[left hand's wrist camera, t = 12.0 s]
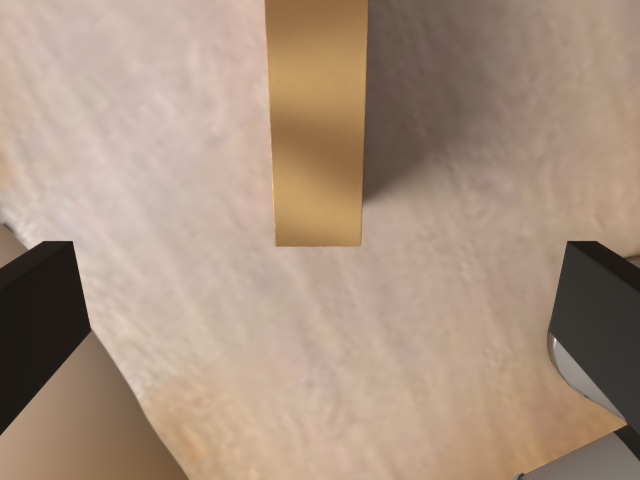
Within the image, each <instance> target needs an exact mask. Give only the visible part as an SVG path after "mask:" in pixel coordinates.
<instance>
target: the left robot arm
mask: <svg viewBox="0 0 640 480" xmlns="http://www.w3.org/2000/svg"><path fill="white" fill-rule="evenodd" d="M90 332H91V327H90V323H89V318H88V313H87V308H86V303H85V299H84V294H83V289H82V284H81V279H80V274H79V270H78V265H77V260H76V255H75V250H74V246H73V241H43V242H41V243H40V244H38V245H37V246H35V247H34V248H32V249H30V250H29V251H27V252H26V253H24V254H22V255H21V256H19V257H18V258H16V259H14V260H13V261H11V262H10V263H8V264H6V265H5V266H3V267H2V268H0V435H1V434H2V433H3V432H4V431H5V430H6V428H7V427H8V426H9V425H10V424H11V423H12V422H13V420H14V419H15V418H16V417H17V416H18V415H19V413H20V412H21V411H22V410H23V409H24V408H25V407H26V405H27V404H28V403H29V402H30V401H31V400H32V398H33V397H34V396H35V395H36V394H37V393H38V392H39V390H40V389H41V388H42V387H43V386H44V385H45V384H46V382H47V381H48V380H49V379H50V378H51V377H52V375H53V374H54V373H55V372H56V371H57V370H58V369H59V367H60V366H61V365H62V364H63V363H64V362H65V360H66V359H67V358H68V357H69V356H70V355H71V353H72V352H73V351H74V350H75V349H76V348H77V347H78V345H79V344H80V343H81V342H82V341H83V340H84V339H85V337H86V336H87V335H88V334H89V333H90ZM547 346H548V352H549V356H550V359H551V361H552V363H553V365H554V367H555V368H556V370H557V371H558V372H559V374H560V375H561V376H562V378H563V379H564V380H565V381H566V382H567V383H568V385H569V386H571V387H572V388H573V389H574V390H576V391H577V392H578V393H579V394H581V395H582V396H584V397H586V398H588V399H589V400H591V401H593V402H595V403H597V404H599V405H600V406H602V407H603V408H605V409H607V410H608V411H610V412H611V413H613V414H614V415H616V416H617V417H619V418H621V419H622V420H624V421H625V422H626V423H627V424H628V425H626V426H624V427H622V428H620V429H618V430H616V431H613V432H612V433H610V434H608V435H605V436H603V437H601V438H599V439H597V440H595V441H593V442H591V443H589V444H587V445H585V446H583V447H581V448H579V449H577V450H575V451H572V452H570V453H568V454H566V455H564V456H562V457H560V458H558V459H556V460H554V461H552V462H550V463H548V464H546V465H544V466H542V467H540V468H537V469H535V470H533V471H531V472H529V473H527V474H523V473H521V474H518V475H516V476H515V477H514V479H513V480H640V256H637V257H630V258H626V259H624V258H622V257H621V256H619V255H618V254H616V253H614V252H613V251H611V250H610V249H608V248H606V247H605V246H603V245H602V244H600V243H599V242H597V241H567V246H566V250H565V255H564V260H563V265H562V270H561V274H560V279H559V284H558V289H557V294H556V299H555V303H554V308H553V313H552V318H551V321H550V325H549V329H548V335H547Z"/></svg>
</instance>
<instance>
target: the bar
mask: <svg viewBox="0 0 640 480" xmlns="http://www.w3.org/2000/svg"><path fill="white" fill-rule="evenodd" d="M368 8H369V0H265V22H266V45H267V69H268V93H269V116H270V140H271V163H272V187H273V210H274V234H275V246H361V229H362V198H363V166H364V135H365V103H366V71H367V40H368Z"/></svg>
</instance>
